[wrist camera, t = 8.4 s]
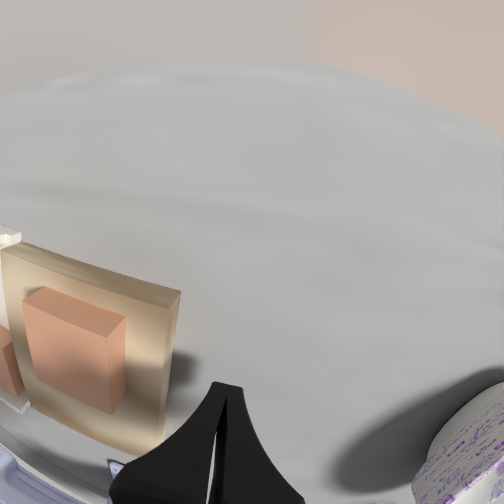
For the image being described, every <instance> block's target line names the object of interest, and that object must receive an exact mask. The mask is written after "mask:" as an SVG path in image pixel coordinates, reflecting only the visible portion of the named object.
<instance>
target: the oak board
mask: <svg viewBox="0 0 504 504" xmlns="http://www.w3.org/2000/svg"><path fill="white" fill-rule="evenodd" d="M0 257H1V271H2V282H3V291H4V299H5V306H6V312H7V318H8V323H9V329H10V334H11V338H12V343H13V347H14V351H15V355H16V359H17V363H18V367H19V370H20V374H21V377H22V380H23V384H24V387H25V390H26V393H27V396H28V399H29V401H30V404H31V407H33V408H35V409H36V410H38V411H40V412H41V413H43V414H45V415H47V416H48V417H50V418H52V419H54V420H55V421H57V422H59V423H61V424H63V425H65V426H67V427H69V428H71V429H73V430H75V431H77V432H79V433H81V434H83V435H85V436H87V437H89V438H92V439H94V440H96V441H98V442H101V443H103V444H105V445H108V446H110V447H113V448H115V449H118V450H120V451H123V452H126V453H128V454H131V455H134V456H137V457H141V456H143V455H144V454H146V453H148V452H149V451H151V450H152V449H154V448H155V447H157V446H158V445H160V444H161V443H163V442H164V439H165V424H166V411H167V400H168V389H169V379H170V370H171V361H172V352H173V344H174V336H175V329H176V322H177V314H178V308H179V301H180V294H181V291H177V290H173V289H170V288H166V287H162V286H159V285H155V284H152V283H148V282H145V281H141V280H138V279H134V278H131V277H127V276H124V275H121V274H117V273H114V272H111V271H108V270H104V269H101V268H98V267H95V266H92V265H88V264H85V263H82V262H79V261H76V260H73V259H70V258H67V257H64V256H61V255H58V254H55V253H52V252H50V251H47V250H44V249H41V248H38V247H35V246H33V245H30V244H27V243H24V242H22V241H21V242H18V243H16V244H13V245H11V246H8V247H5V248H3V249H0ZM45 286H46V287H49V288H51V289H54V290H56V291H59V292H61V293H64V294H66V295H69V296H71V297H74V298H76V299H79V300H82V301H84V302H87V303H90V304H92V305H95V306H98V307H101V308H104V309H106V310H109V311H112V312H115V313H118V314H121V315H124V316H126V335H125V378H126V392H125V394H124V396H123V398H122V399H121V401H120V403H119V405H118V406H117V408H116V410H115V412H114V413H113V415H110V414H108V413H105V412H103V411H101V410H98V409H96V408H94V407H91V406H89V405H87V404H85V403H82V402H80V401H78V400H76V399H74V398H72V397H70V396H68V395H66V394H64V393H62V392H60V391H58V390H56V389H54V388H52V387H50V386H49V385H47V384H45V383H43V382H41V381H40V380H38V379H37V378H36V375H35V371H34V367H33V362H32V358H31V354H30V349H29V344H28V339H27V333H26V328H25V321H24V315H23V307H22V300H24V299H25V298H27V297H29V296H30V295H32V294H33V293H35V292H36V291H38V290H40V289H41V288H43V287H45Z"/></svg>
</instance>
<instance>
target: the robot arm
mask: <svg viewBox="0 0 504 504" xmlns="http://www.w3.org/2000/svg"><path fill="white" fill-rule="evenodd" d="M216 431H217V433H216ZM215 435H216V447H215V461H214V473H213V479H212V485H211V490H210V496H209V501H208V504H305V501H304V498H303V497H302V496H301V495H300V494H299V493H298V492H296V491H295V490H294V489H293V488H292V487H291V486H290V484H289V483H288V482H287V481H286V480H285V479H284V478H283V477H282V475H281V474H280V473H279V471H278V470H277V469H276V467H275V466H274V465H273V463H272V462H271V460H270V459H269V457H268V456H267V454H266V452H265V451H264V449H263V447H262V445H261V443H260V441H259V439H258V437H257V435H256V433H255V430H254V428H253V425H252V423H251V420H250V417H249V414H248V411H247V407H246V403H245V399H244V393H243V389H242V387H238V386H233V385H228V384H224V383H219V382H212V384H211V387H210V389H209V391H208V393H207V395H206V396H205V398H204V399H203V401H202V402H201V404H200V405H199V406H198V408H197V409H196V411H195V412H194V413H193V414H192V415H191V416H190V418H189V419H188V420H187V421H186V422H185V423H184V424H183V425H182V426H181V427H180V428H179V429H178V430H177V431H176V432H175V433H174V434H172V435H171V436H170V437H169V438H168V439H166V440H165V441H164V442H163V443H161V444H160V445H158V446H157V447H155V448H154V449H152V450H151V451H149V452H148V453H146V454H144V455H143V456H141V457H139V458H137V459H135V460H133V461H131V462H129V463H127V464H126V465H125V466H123V465H121V464H118V463H116V462H110V464H109V466H110V470H111V473H112V477H113V482H112V484H111V486H110V488H109V495H110V497H109V499H108V501H107V504H206V499H207V490H208V481H209V473H210V466H211V459H212V452H213V445H214V439H215ZM0 504H86V503H83V502H81V501H79V500H77V499H75V498H73V497H71V496H69V495H68V494H66V493H63V492H62V491H60V490H58V489H56V488H55V487H53V486H51V485H50V484H48V483H46V482H44V481H43V480H41V479H40V478H38V477H36V476H35V475H33V474H32V473H30V472H29V471H27V470H26V469H24V468H23V467H21V466H20V465H18V463H17V461H16V459H15V458H14V457H13V456H12V455H11V454H10V453H9V452H8V451H6V450H5V449H4V448H2V447H1V446H0Z"/></svg>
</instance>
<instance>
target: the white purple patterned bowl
mask: <svg viewBox="0 0 504 504" xmlns="http://www.w3.org/2000/svg"><path fill="white" fill-rule="evenodd" d="M411 487H412V492H413V495H414V498H415V500H416V504H490V503H492V502H493V501H494V500H496V499H497V498H498V497H500V496H502V495H503V494H504V382H502V383H499V384H496V385H494V386H492V387H490V388H488V389H486V390H485V391H483V392H481V393H480V394H478V395H477V396H476V397H474V398H473V399H472V400H470V401H469V402H468V403H467V404H465V405H464V406H463V407H462V408H461V409H460V410H459V411H458V412H457V413H456V414H454V415H453V416H452V417H451V418H450V419H449V421H448V422H447V423H446V424H445V425H444V426H443V427H442V429H441V430H440V431H439V433H438V434H437V435H436V437H435V438H434V440H433V442H432V444H431V446H430V448H429V451H428V455H427V461H426V462H425V463H424V464H423V465H422V468H420V469H419V472H418V473H417V474H416V476H415V478H414V479H413V482H412V486H411Z"/></svg>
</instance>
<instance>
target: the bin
mask: <svg viewBox="0 0 504 504" xmlns="http://www.w3.org/2000/svg"><path fill="white" fill-rule="evenodd" d="M18 242H21V232H20V231H17V230H14V229H11V228H8V227H6V226H3V225H0V249H3V248H5V247H8V246H11V245H13V244H16V243H18ZM0 325H2V326H3V327H5V328H7V329H8V330H10V329H9V323H8V318H7V312H6V306H5V299H4V291H3V282H2V271H1V257H0ZM0 400H1V401H3V402H4V403H6V404H7V405H8V406H10V407H11V408H13V409H14V410H15V411H17V412H18V413H20V414H21V415H22V414H23V413H24V412H25V411H26V409H27V408H28V407H29V406H30V405H31V404H30V401H29V399H28V396H27V393H26V390H25V391H24V392H23V393H22V394H21V396H20V397H19V398H17V397H16V396H14V395H13V394H11V393H10V392H8V391H7V390H6V389H4V388H3V387H1V386H0Z"/></svg>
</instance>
